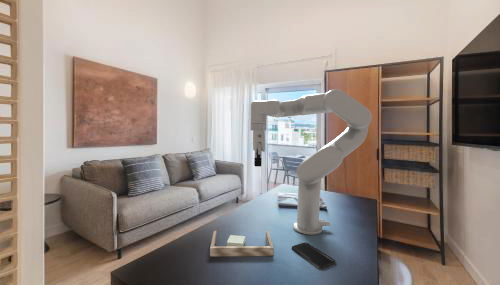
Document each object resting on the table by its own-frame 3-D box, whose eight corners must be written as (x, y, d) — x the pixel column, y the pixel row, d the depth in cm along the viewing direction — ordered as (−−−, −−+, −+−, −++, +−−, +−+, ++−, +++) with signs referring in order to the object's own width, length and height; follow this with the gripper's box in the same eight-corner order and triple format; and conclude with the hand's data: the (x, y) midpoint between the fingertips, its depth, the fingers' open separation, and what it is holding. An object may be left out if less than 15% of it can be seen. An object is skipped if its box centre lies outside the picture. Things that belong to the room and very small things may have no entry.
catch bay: (268, 237, 95) (268, 230, 95) (273, 255, 82) (273, 247, 82) (213, 237, 94) (213, 230, 94) (210, 256, 81) (210, 247, 80)
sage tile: (245, 242, 92) (245, 236, 92) (242, 250, 86) (242, 243, 86) (230, 241, 93) (230, 234, 92) (226, 248, 87) (226, 242, 86)
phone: (306, 242, 91) (337, 261, 78) (306, 244, 91) (337, 264, 78) (290, 246, 87) (320, 268, 74) (290, 249, 87) (319, 271, 74)
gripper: (269, 127, 103) (268, 168, 104) (264, 127, 118) (263, 163, 119) (252, 127, 102) (251, 168, 103) (249, 127, 117) (248, 163, 118)
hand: (257, 166), depth 111 cm, fingers closed
